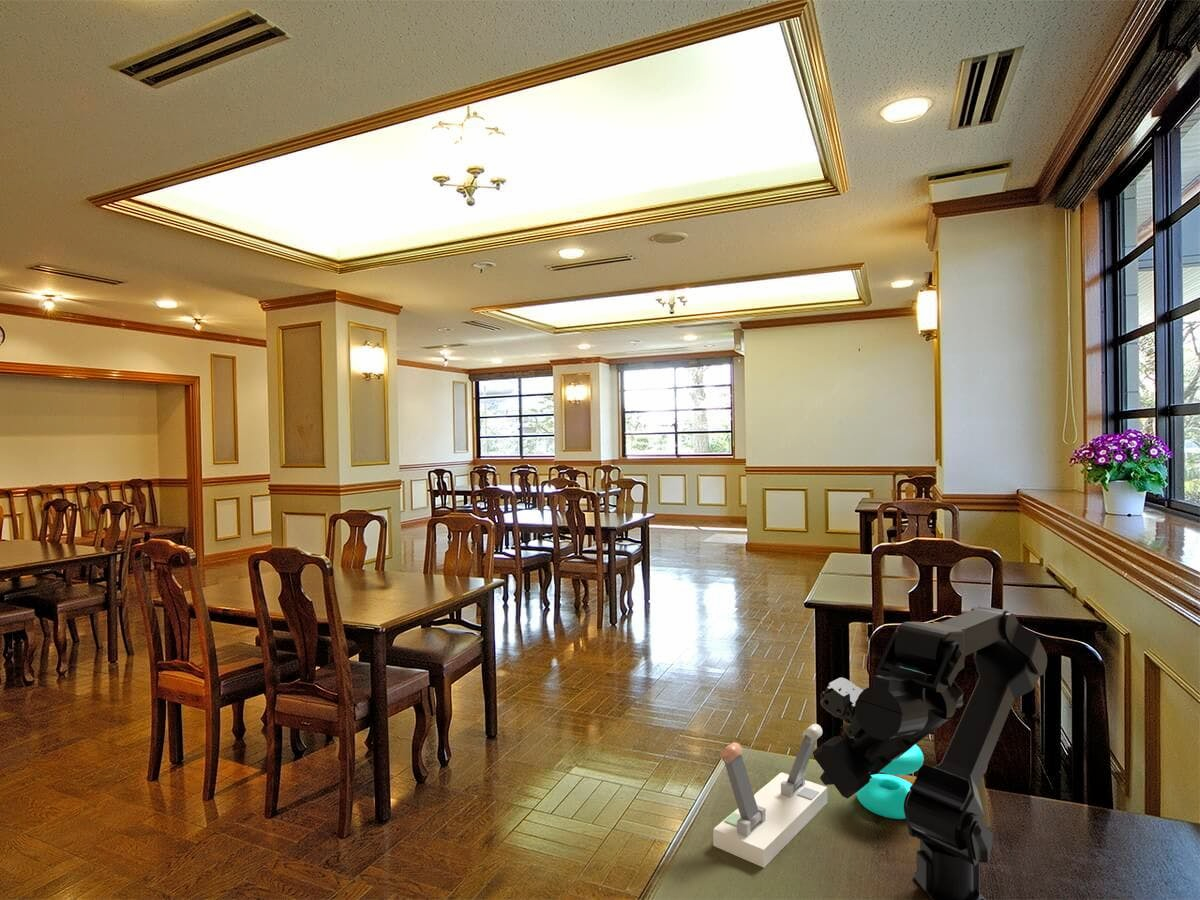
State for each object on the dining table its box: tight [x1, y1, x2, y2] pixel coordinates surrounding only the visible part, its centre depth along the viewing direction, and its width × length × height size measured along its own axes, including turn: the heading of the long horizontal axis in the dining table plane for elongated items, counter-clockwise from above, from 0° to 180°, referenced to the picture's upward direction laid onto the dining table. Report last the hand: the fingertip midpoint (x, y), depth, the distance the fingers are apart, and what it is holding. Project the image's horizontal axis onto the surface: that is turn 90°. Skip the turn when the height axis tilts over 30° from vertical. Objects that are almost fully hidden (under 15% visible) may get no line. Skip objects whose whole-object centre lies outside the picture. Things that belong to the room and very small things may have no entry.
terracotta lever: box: [719, 741, 761, 829], centre depth 101 cm, size 2×3×11 cm, turn 140°
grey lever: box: [786, 723, 824, 790], centre depth 110 cm, size 2×3×11 cm, turn 140°
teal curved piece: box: [855, 743, 925, 820], centre depth 110 cm, size 10×10×10 cm
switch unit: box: [712, 772, 828, 868], centre depth 105 cm, size 8×22×4 cm, turn 140°
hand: (823, 780), depth 93 cm, fingers closed
